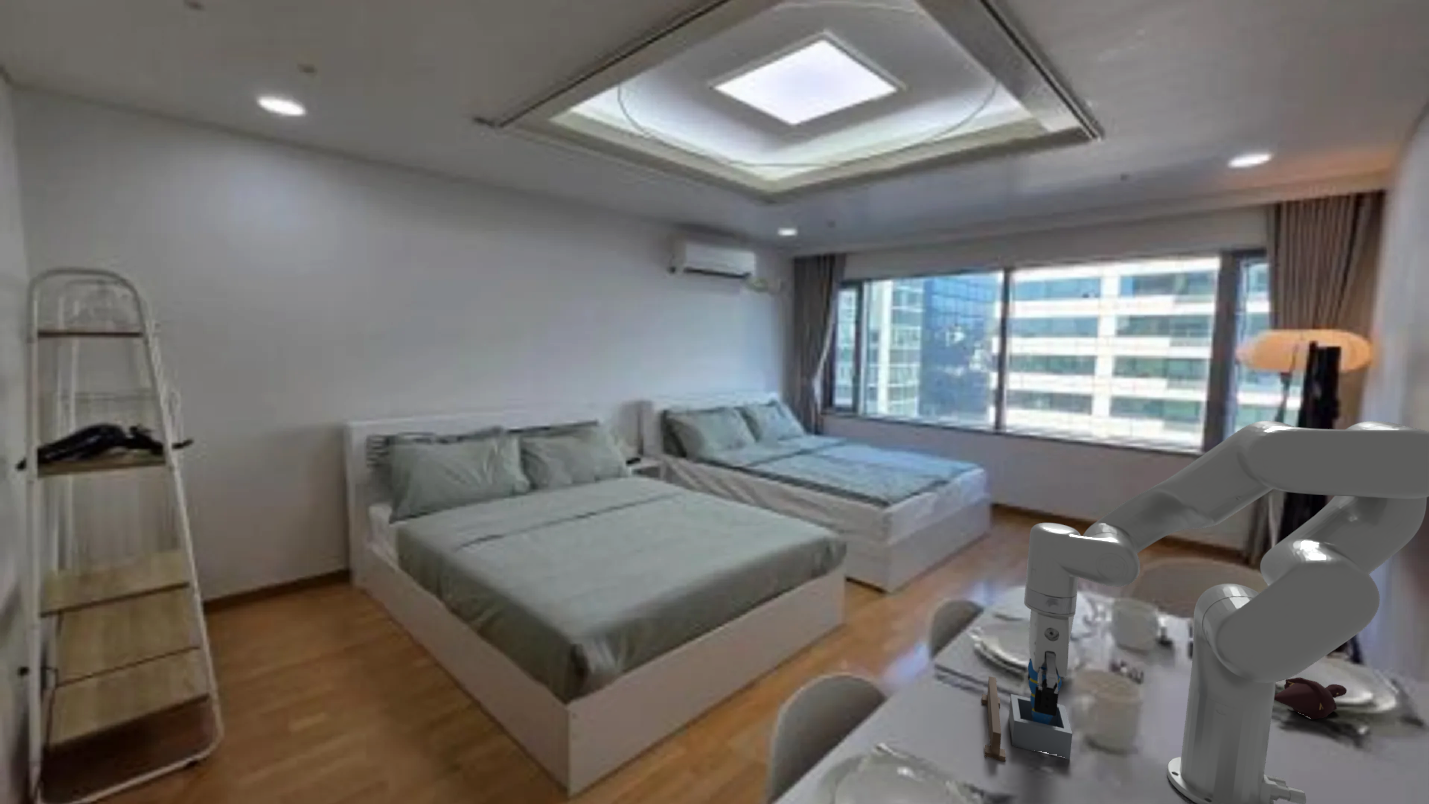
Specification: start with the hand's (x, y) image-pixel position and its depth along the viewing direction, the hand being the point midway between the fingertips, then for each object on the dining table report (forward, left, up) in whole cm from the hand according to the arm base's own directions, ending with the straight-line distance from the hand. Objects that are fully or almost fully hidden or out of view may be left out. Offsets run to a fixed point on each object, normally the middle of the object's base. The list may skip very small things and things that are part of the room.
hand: (1041, 697), depth 105 cm
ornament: (0, 0, -7) cm, 7 cm away
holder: (0, 0, -7) cm, 7 cm away
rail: (+7, 0, -7) cm, 10 cm away
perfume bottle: (-6, -27, -7) cm, 29 cm away
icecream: (-47, -28, -8) cm, 55 cm away
